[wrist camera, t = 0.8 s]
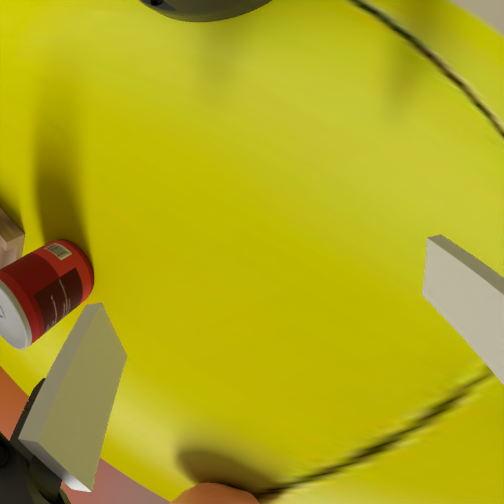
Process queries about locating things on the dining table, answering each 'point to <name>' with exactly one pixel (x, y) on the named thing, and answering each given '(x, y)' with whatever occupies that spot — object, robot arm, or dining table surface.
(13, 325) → the canned food
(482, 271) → the robot arm
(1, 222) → the walnut tray
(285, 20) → the dining table surface
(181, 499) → the cell model
